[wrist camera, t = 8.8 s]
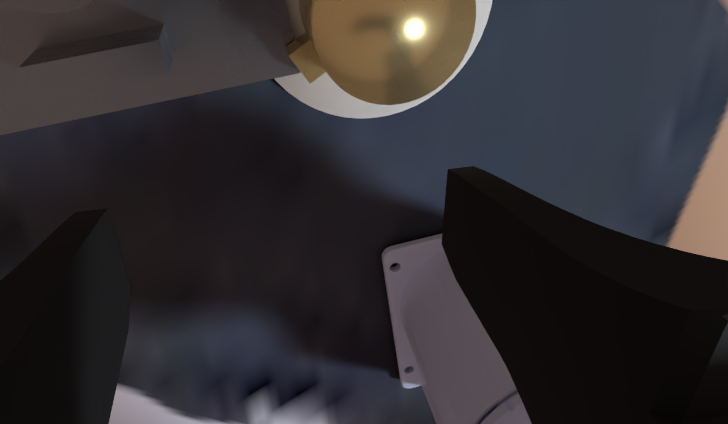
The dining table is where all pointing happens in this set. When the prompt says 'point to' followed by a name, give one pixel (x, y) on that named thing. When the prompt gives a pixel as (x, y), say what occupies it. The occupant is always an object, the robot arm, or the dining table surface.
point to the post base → (131, 54)
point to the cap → (383, 45)
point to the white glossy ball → (340, 103)
